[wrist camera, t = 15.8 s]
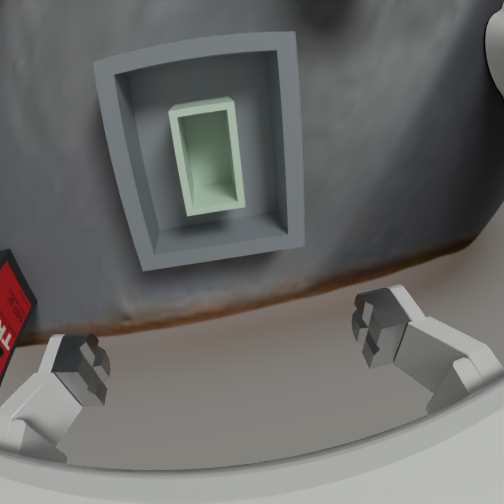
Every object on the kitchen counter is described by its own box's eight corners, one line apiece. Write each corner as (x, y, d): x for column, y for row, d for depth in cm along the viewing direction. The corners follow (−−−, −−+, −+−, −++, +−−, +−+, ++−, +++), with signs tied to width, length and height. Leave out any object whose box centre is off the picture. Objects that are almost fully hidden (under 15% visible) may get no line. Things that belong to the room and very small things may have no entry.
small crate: (228, 96, 27) (234, 101, 22) (238, 183, 32) (245, 207, 27) (174, 104, 27) (168, 111, 22) (189, 190, 31) (187, 216, 26)
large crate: (278, 38, 25) (295, 31, 20) (289, 219, 36) (304, 246, 31) (112, 63, 24) (92, 62, 19) (150, 240, 35) (143, 271, 30)
